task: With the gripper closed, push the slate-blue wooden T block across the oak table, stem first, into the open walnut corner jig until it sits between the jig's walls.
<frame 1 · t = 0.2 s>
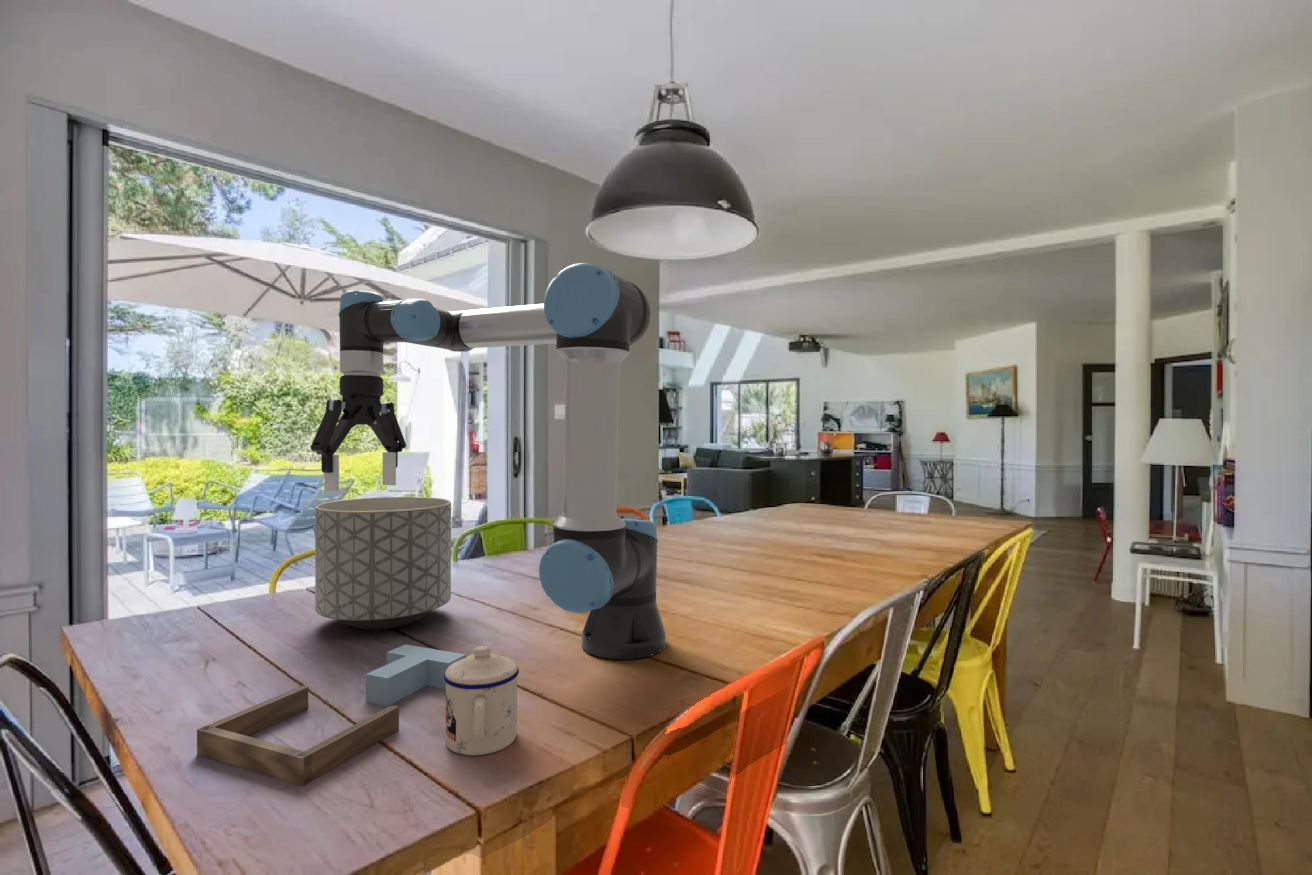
hand: (361, 488, 122), 28 cm above the table, tool pointing down, fingers open, 13 cm apart
teacup with lid: (481, 746, 80), on the table
planter: (385, 622, 129), on the table
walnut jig: (301, 741, 80), on the table
t block: (407, 688, 97), on the table
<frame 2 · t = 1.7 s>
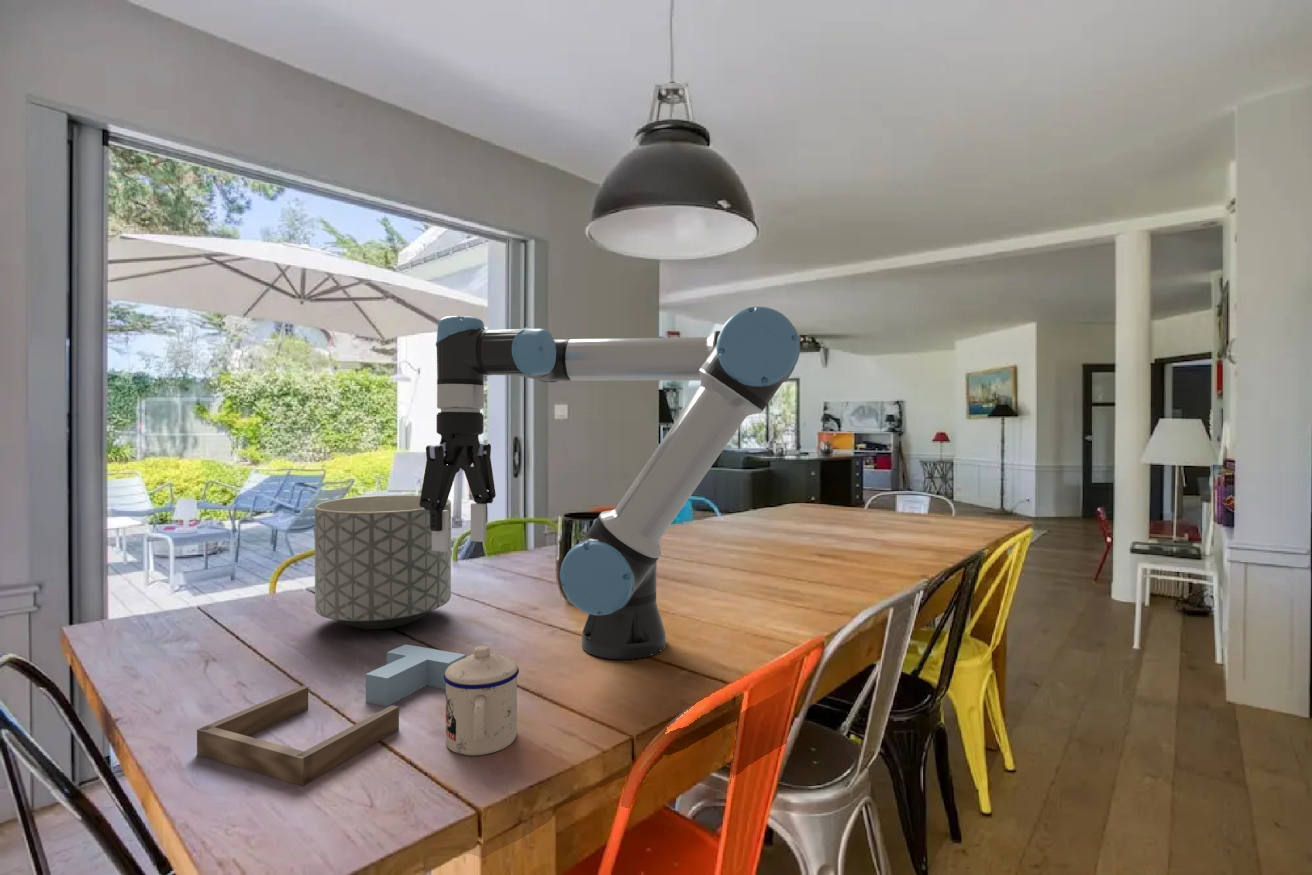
hand: (460, 545, 108), 19 cm above the table, tool pointing down, fingers open, 9 cm apart
nothing on the table moved.
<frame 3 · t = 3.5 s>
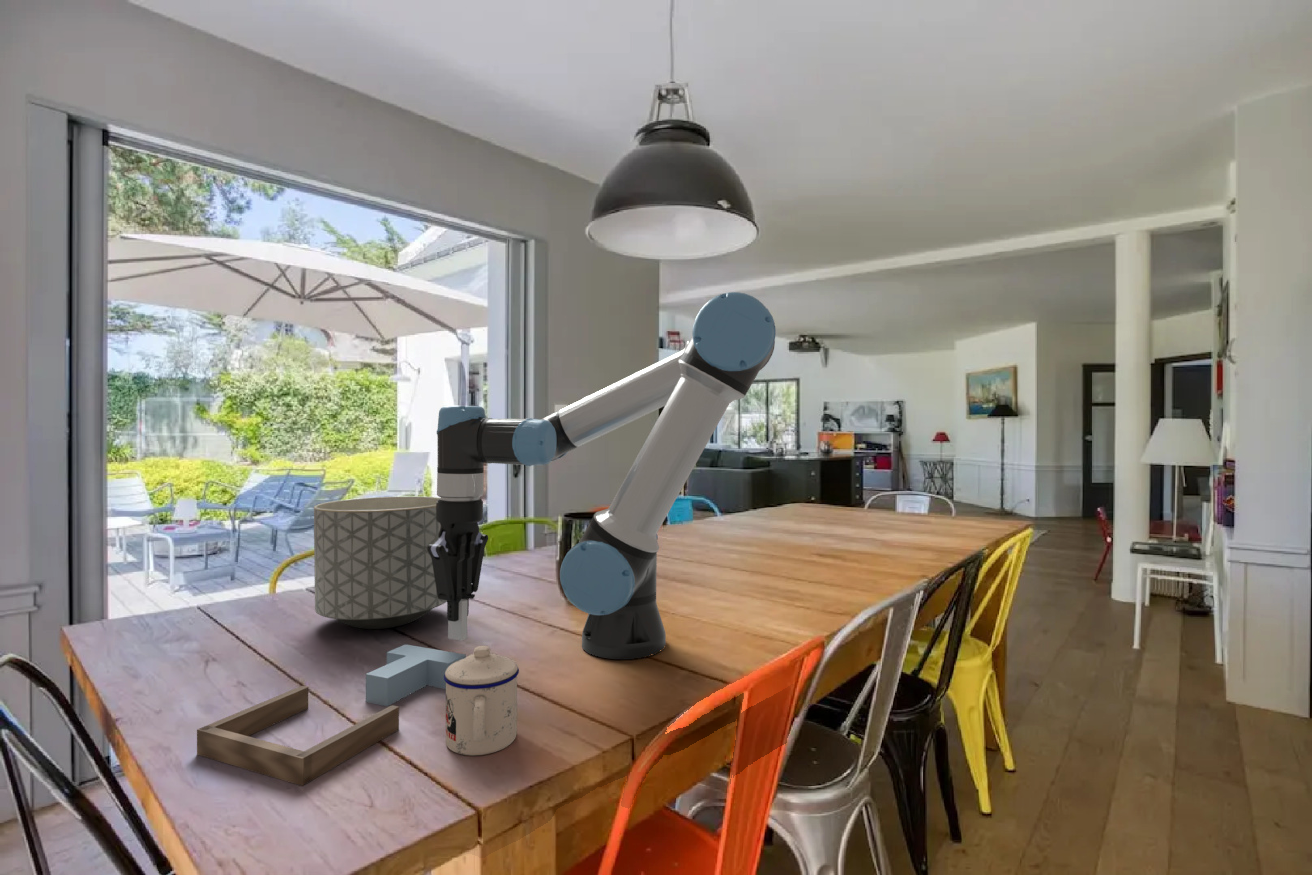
hand: (457, 638, 108), 4 cm above the table, tool pointing down, fingers closed
nothing on the table moved.
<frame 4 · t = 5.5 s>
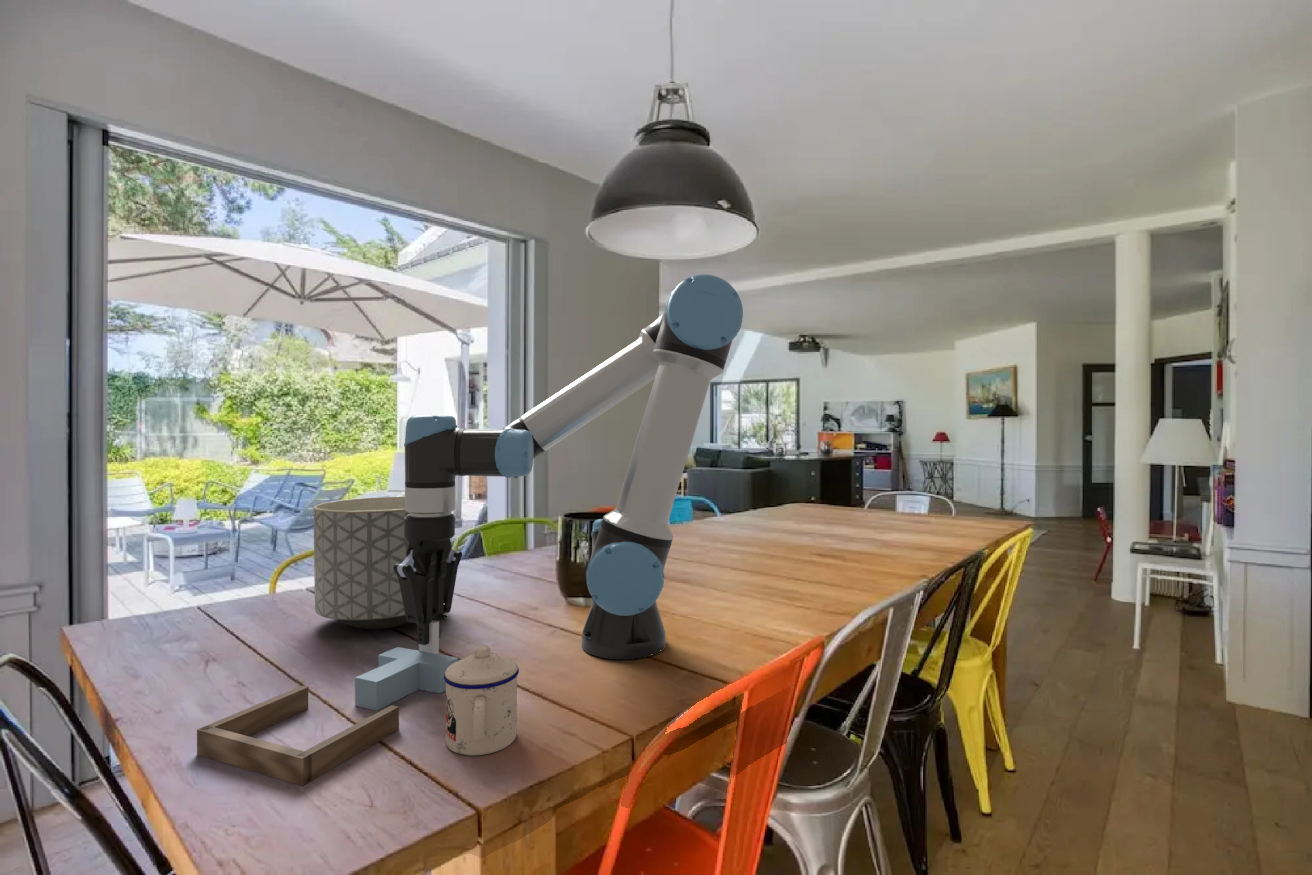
hand: (428, 662, 101), 2 cm above the table, tool pointing down, fingers closed
t block: (398, 691, 95), on the table, touching gripper
everything else where it was.
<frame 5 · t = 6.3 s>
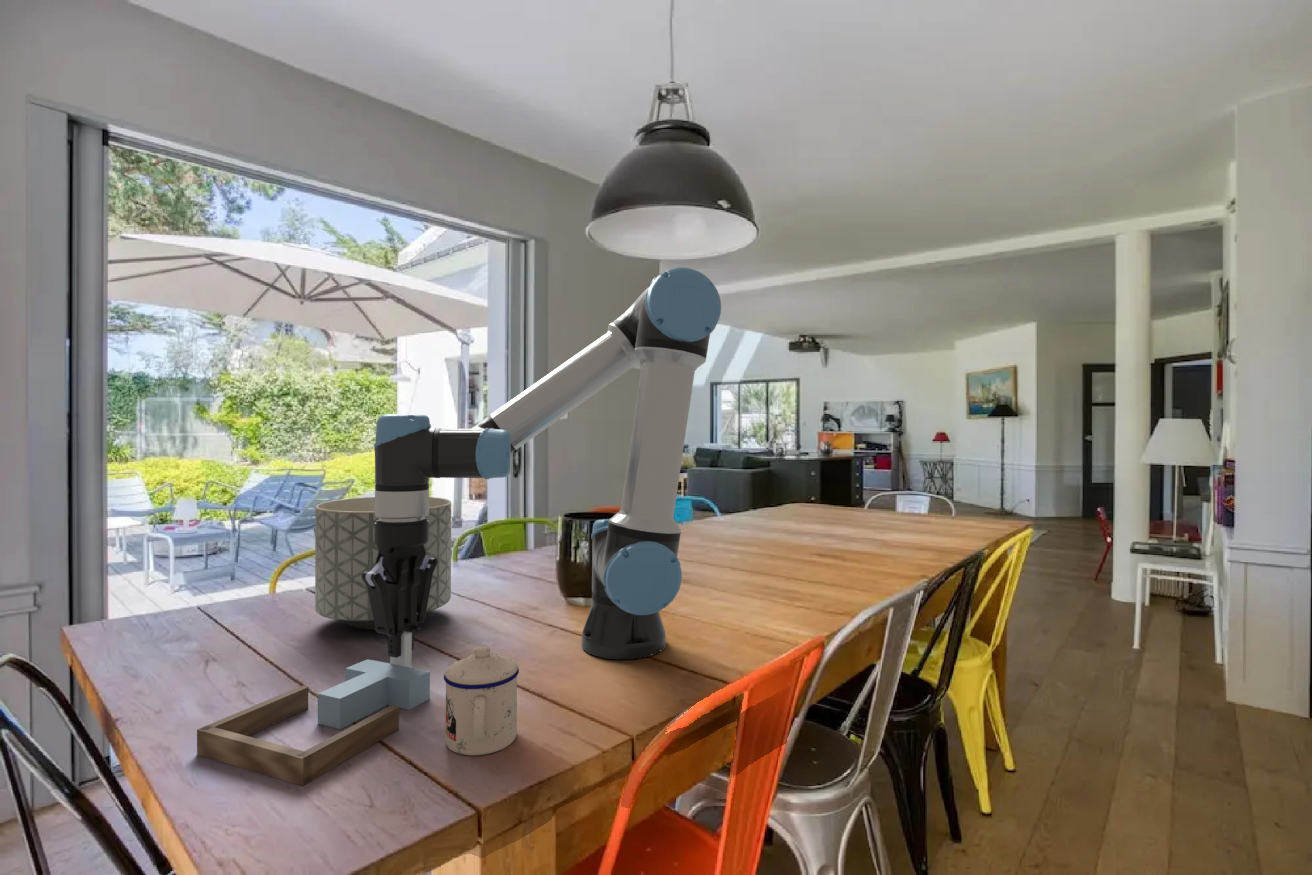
hand: (400, 675, 96), 2 cm above the table, tool pointing down, fingers closed
t block: (365, 708, 90), on the table, touching gripper
everything else where it was.
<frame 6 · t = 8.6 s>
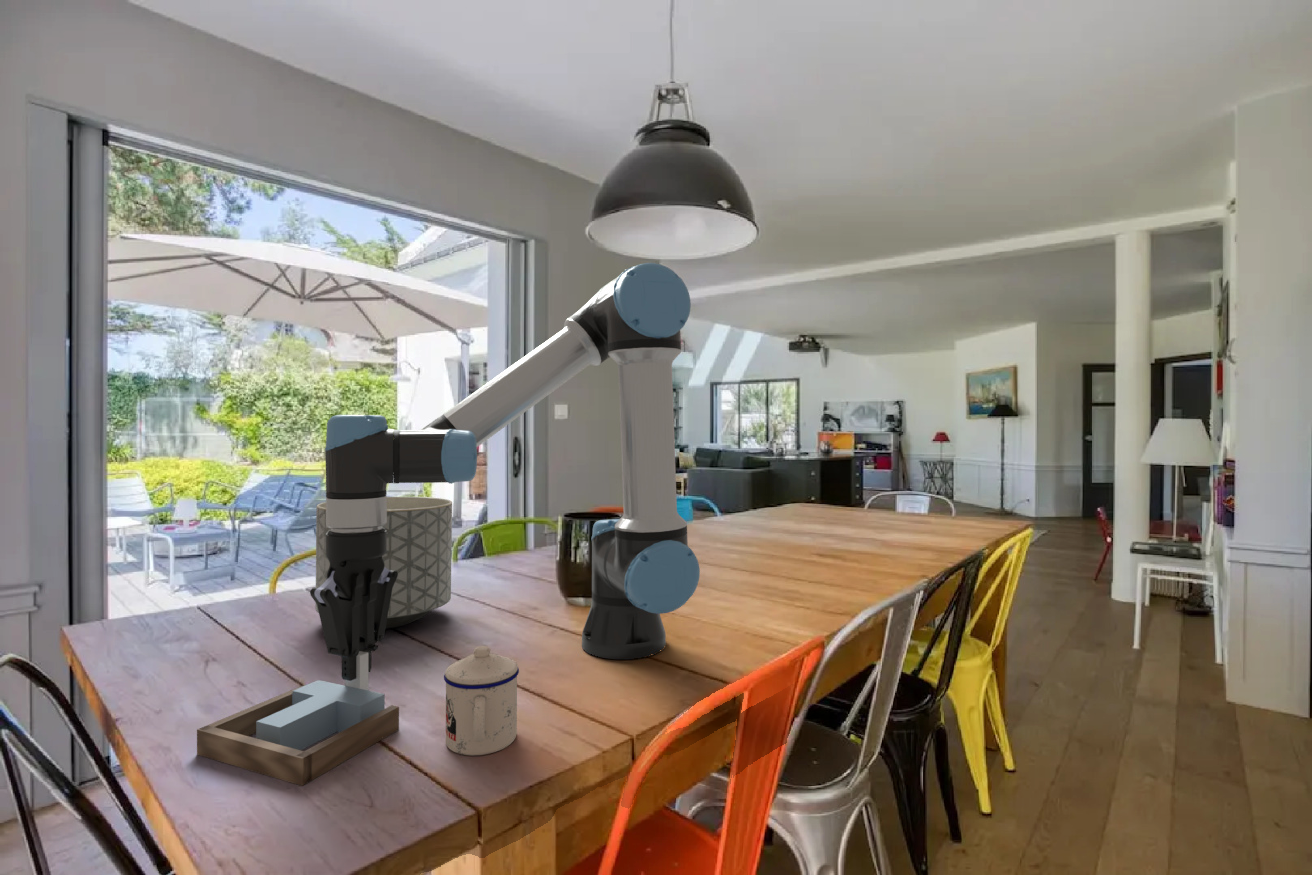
hand: (356, 699, 88), 2 cm above the table, tool pointing down, fingers closed
t block: (312, 735, 82), on the table
everything else where it was.
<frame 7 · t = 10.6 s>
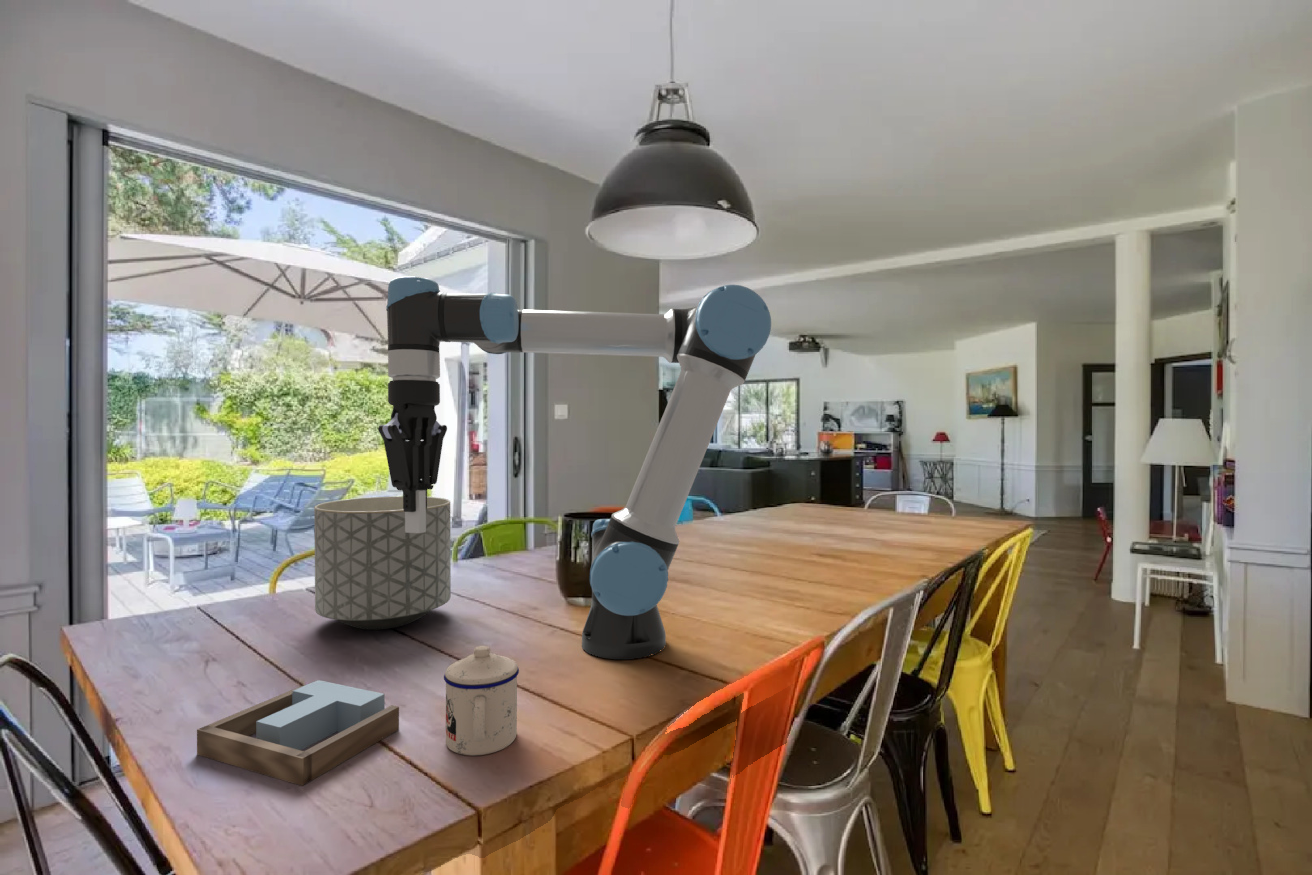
hand: (415, 532, 100), 23 cm above the table, tool pointing down, fingers closed
nothing on the table moved.
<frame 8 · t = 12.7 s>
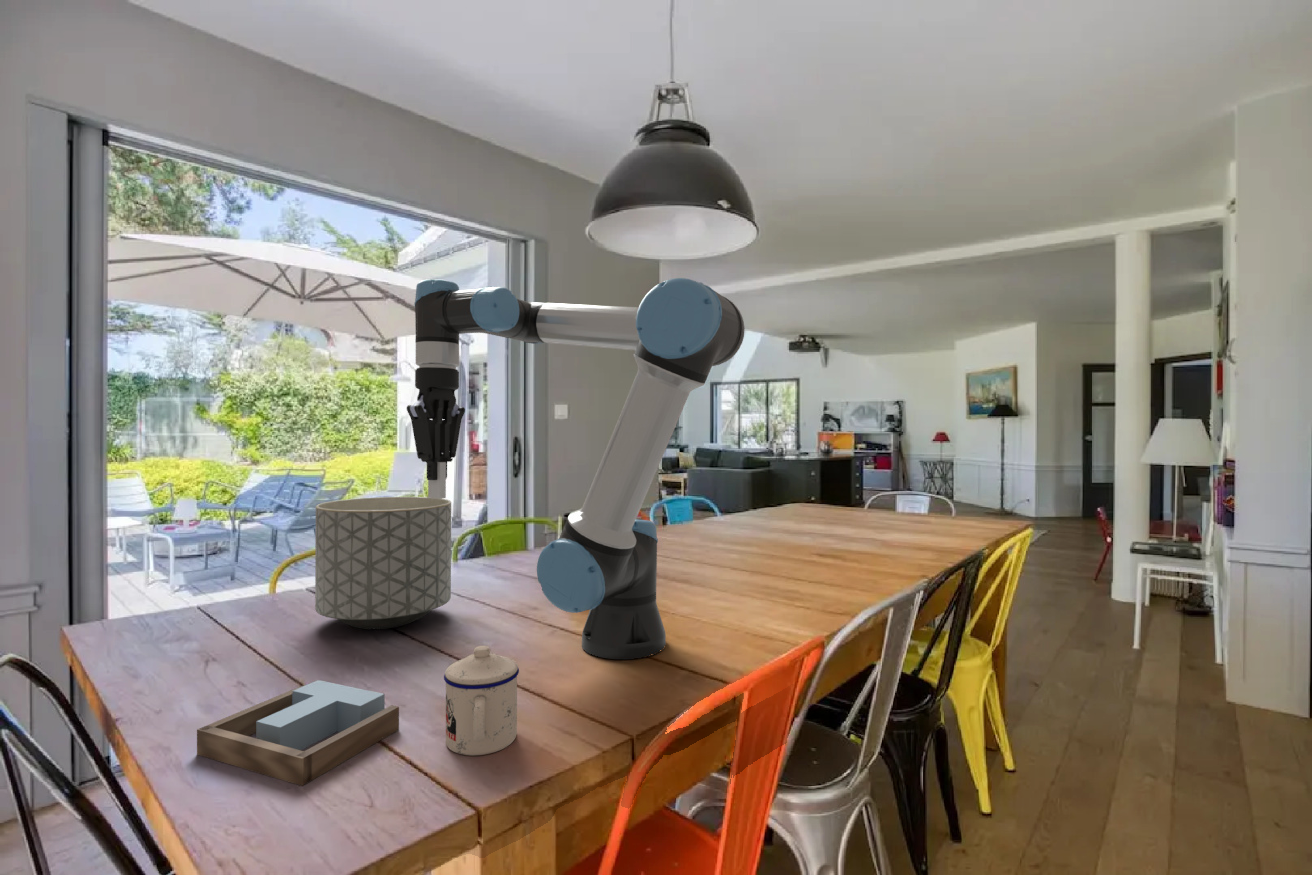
hand: (436, 497, 117), 26 cm above the table, tool pointing down, fingers closed
nothing on the table moved.
at the end: t block inside the target area (0.9 cm from its centre), on the table; t block moved 16.2 cm from its start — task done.
